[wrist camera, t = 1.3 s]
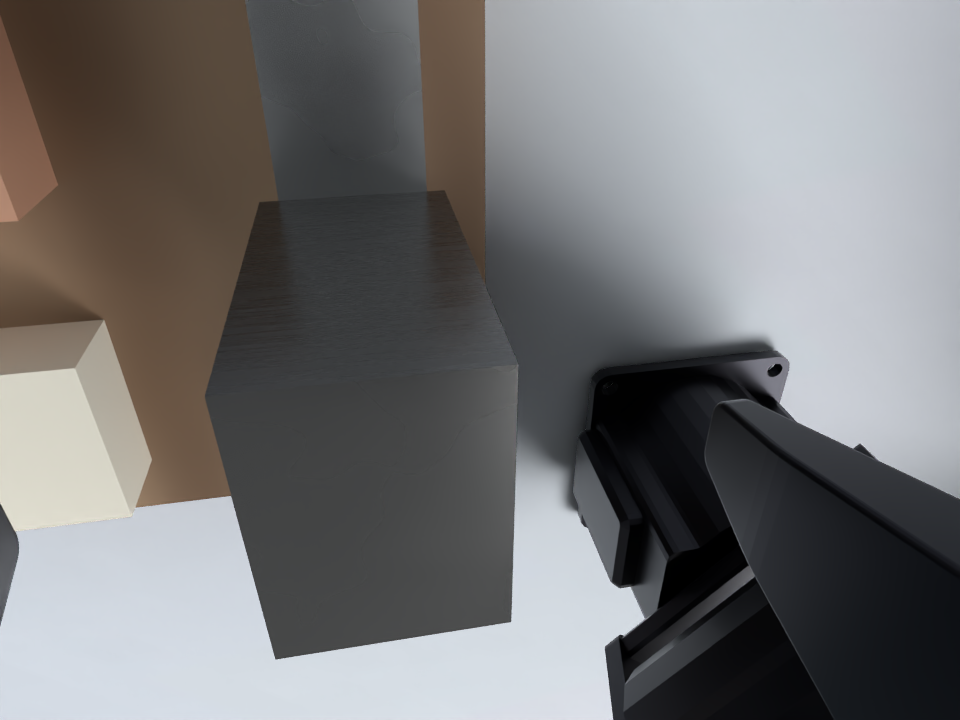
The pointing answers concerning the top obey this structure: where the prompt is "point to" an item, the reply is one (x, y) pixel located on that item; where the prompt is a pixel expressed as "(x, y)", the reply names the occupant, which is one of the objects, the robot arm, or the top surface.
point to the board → (183, 189)
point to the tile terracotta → (19, 144)
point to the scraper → (362, 354)
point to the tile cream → (66, 428)
